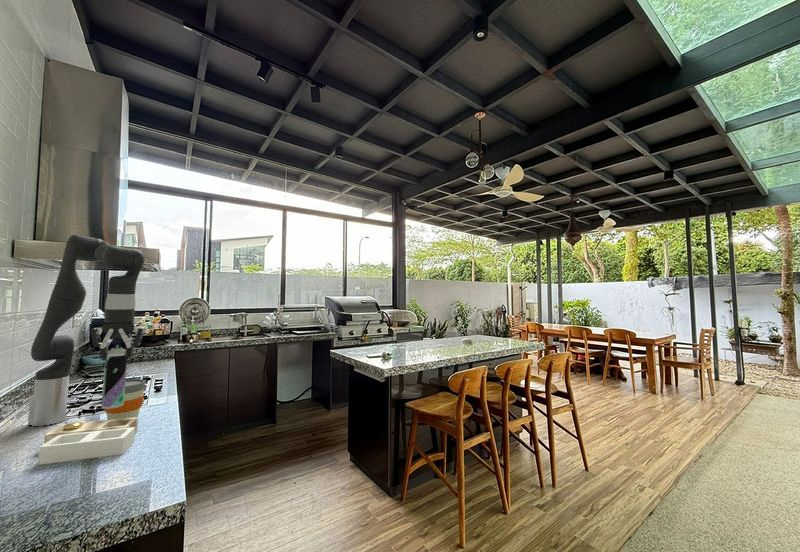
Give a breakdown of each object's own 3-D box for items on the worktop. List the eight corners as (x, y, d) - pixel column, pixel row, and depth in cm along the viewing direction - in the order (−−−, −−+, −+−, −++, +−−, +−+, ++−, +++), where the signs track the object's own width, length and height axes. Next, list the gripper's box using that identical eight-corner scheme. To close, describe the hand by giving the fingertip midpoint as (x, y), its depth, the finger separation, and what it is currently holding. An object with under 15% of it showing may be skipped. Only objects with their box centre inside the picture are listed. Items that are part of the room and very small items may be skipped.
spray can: (110, 409, 102) (115, 345, 103) (96, 408, 103) (101, 344, 104) (127, 404, 107) (132, 343, 109) (114, 402, 108) (119, 342, 110)
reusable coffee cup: (106, 419, 130) (109, 381, 131) (145, 414, 136) (148, 377, 137) (96, 430, 119) (100, 388, 120) (139, 424, 125) (142, 384, 126)
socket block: (43, 451, 103) (44, 434, 103) (60, 439, 111) (61, 424, 112) (126, 441, 111) (128, 426, 111) (137, 431, 119) (138, 417, 120)
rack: (37, 464, 95) (39, 447, 95) (56, 451, 103) (58, 435, 103) (122, 454, 102) (124, 437, 102) (134, 442, 110) (135, 427, 111)
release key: (59, 445, 106) (60, 427, 107) (67, 439, 110) (68, 422, 111) (76, 443, 108) (78, 426, 108) (83, 437, 112) (85, 421, 112)
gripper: (150, 307, 114) (147, 356, 112) (98, 307, 108) (94, 358, 107) (142, 308, 107) (138, 360, 105) (86, 308, 101) (81, 362, 100)
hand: (116, 359), depth 106 cm, fingers closed on spray can, 5 cm apart
